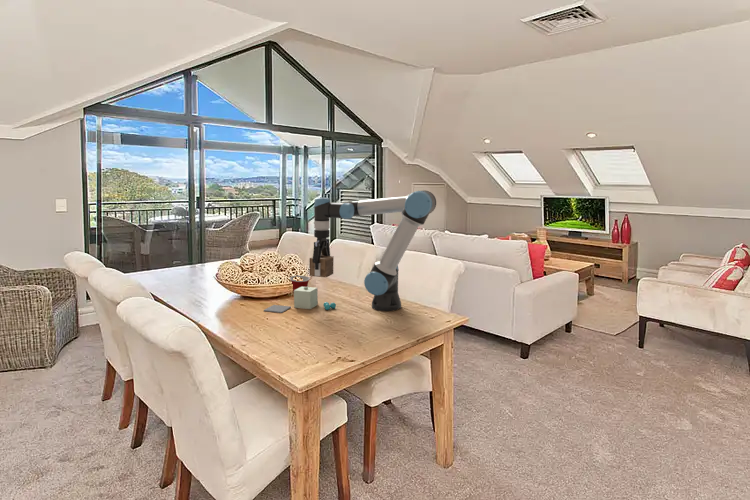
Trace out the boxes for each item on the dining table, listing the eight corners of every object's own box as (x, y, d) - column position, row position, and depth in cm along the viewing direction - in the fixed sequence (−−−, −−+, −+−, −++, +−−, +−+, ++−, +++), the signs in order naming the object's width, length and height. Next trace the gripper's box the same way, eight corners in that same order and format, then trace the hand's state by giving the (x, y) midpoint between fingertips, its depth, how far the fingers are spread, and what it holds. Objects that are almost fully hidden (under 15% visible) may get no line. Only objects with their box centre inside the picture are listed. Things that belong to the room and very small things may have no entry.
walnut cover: (333, 273, 241) (333, 254, 239) (326, 277, 232) (326, 257, 231) (317, 272, 244) (317, 253, 242) (309, 275, 235) (309, 255, 233)
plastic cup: (296, 302, 252) (296, 280, 250) (286, 298, 260) (286, 277, 258) (314, 299, 258) (313, 277, 257) (304, 295, 267) (303, 274, 265)
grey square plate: (291, 307, 242) (291, 306, 242) (281, 313, 233) (281, 311, 233) (273, 305, 245) (273, 304, 245) (263, 311, 236) (263, 310, 236)
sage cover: (317, 304, 248) (317, 285, 247) (310, 309, 240) (310, 289, 238) (301, 303, 251) (301, 284, 249) (294, 307, 242) (293, 288, 241)
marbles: (336, 307, 242) (336, 302, 242) (332, 311, 237) (332, 305, 236) (304, 304, 247) (304, 299, 247) (299, 308, 242) (299, 302, 241)
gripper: (323, 226, 246) (323, 269, 249) (305, 231, 225) (305, 277, 229) (337, 227, 243) (336, 270, 247) (319, 232, 223) (319, 279, 227)
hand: (321, 273), depth 238 cm, fingers closed on walnut cover, 9 cm apart
